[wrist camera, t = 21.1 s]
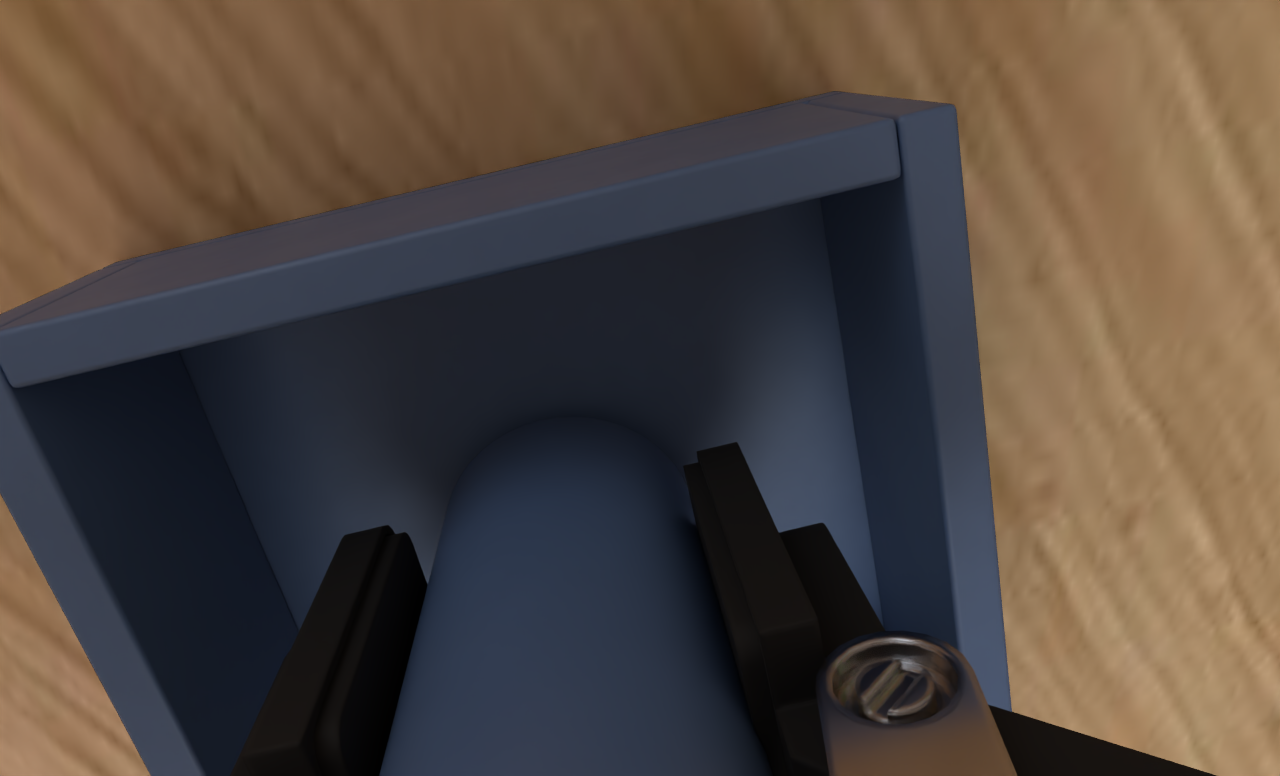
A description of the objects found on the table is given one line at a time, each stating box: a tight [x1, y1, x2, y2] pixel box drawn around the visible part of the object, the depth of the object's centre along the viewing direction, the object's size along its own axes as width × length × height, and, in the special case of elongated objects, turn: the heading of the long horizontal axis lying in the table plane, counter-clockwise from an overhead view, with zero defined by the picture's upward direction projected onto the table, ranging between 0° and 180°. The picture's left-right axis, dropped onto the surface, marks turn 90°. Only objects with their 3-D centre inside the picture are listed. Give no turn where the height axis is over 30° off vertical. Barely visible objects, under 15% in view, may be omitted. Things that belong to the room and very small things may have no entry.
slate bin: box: [0, 91, 1012, 776], centre depth 12 cm, size 10×10×4 cm
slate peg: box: [379, 417, 773, 776], centre depth 10 cm, size 4×4×7 cm
